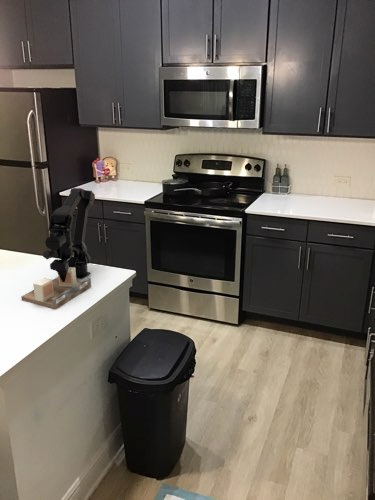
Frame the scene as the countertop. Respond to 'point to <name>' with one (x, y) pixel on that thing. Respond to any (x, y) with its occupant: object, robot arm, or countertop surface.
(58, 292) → the brown tray
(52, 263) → the robot arm
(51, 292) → the faced carton
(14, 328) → the countertop surface
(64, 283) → the askew carton
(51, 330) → the countertop surface
